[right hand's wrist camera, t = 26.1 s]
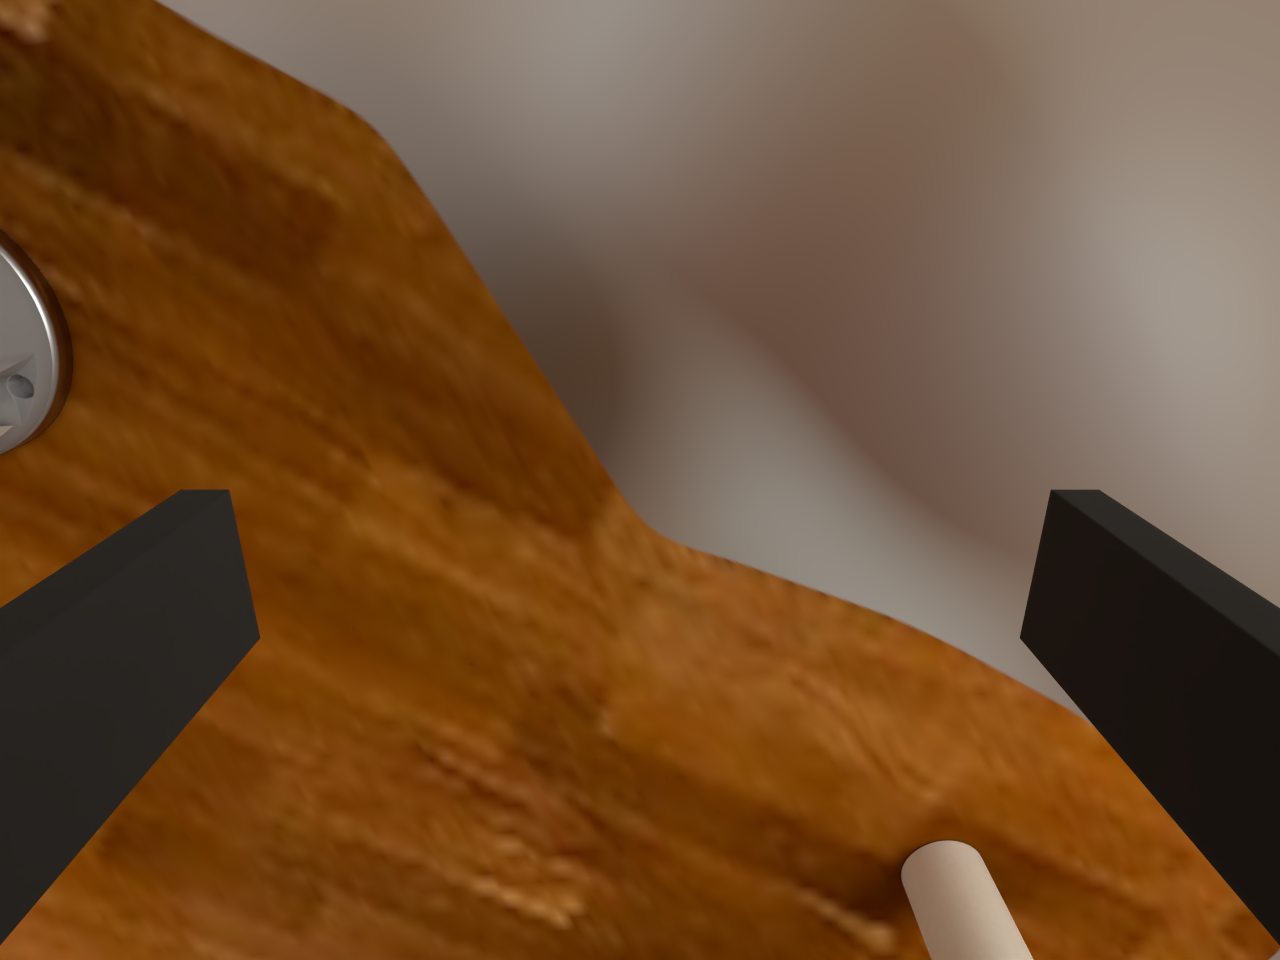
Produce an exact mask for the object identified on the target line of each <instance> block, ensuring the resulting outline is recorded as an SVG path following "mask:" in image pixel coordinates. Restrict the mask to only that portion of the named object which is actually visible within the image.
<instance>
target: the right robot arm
mask: <svg viewBox="0 0 1280 960" xmlns="http://www.w3.org/2000/svg"><path fill="white" fill-rule="evenodd" d="M72 372H73V355H72V345H71V339H70V334H69V330H68V327H67V323H66V320H65V317H64V314H63V312H62V309H61V307H60V305H59V303H58V300H57V298H56V296H55V294H54V293H53V291H52V289H51V287H50V286H49V284H48V282H47V281H46V279H45V278H44V276H43V275H42V273H41V272H40V270H39V269H38V268H37V266H36V265H35V264H34V263H33V261H32V260H31V259H30V258H29V257H28V255H27V254H26V253H25V252H24V251H23V250H22V249H21V248H20V247H19V246H18V245H17V244H16V243H15V242H14V241H13V240H12V239H11V238H10V237H9V236H8V235H6V234H5V233H4V232H3V231H1V230H0V454H2V453H4V452H6V451H9V450H11V449H14V448H16V447H18V446H21V445H23V444H25V443H27V442H29V441H31V440H32V439H34V438H36V437H37V436H38V435H40V434H41V433H42V432H43V431H45V430H46V429H47V428H48V427H49V426H50V424H51V423H52V422H53V421H54V420H55V418H56V417H57V416H58V414H59V413H60V411H61V409H62V407H63V405H64V403H65V401H66V398H67V396H68V392H69V389H70V385H71V379H72ZM259 639H260V635H259V630H258V625H257V620H256V616H255V611H254V606H253V601H252V596H251V592H250V587H249V582H248V577H247V573H246V568H245V563H244V558H243V554H242V549H241V544H240V539H239V535H238V530H237V525H236V520H235V516H234V511H233V506H232V501H231V497H230V492H229V490H180V491H178V492H177V493H175V494H174V495H172V496H171V497H169V498H168V499H166V500H165V501H163V502H162V503H160V504H159V505H157V506H156V507H154V508H153V509H151V510H149V511H148V512H146V513H145V514H143V515H142V516H140V517H139V518H137V519H136V520H134V521H133V522H131V523H130V524H128V525H127V526H125V527H124V528H122V529H120V530H119V531H117V532H116V533H114V534H113V535H111V536H110V537H108V538H107V539H105V540H104V541H102V542H101V543H99V544H98V545H96V546H95V547H93V548H91V549H90V550H88V551H87V552H85V553H84V554H82V555H81V556H79V557H78V558H76V559H75V560H73V561H72V562H70V563H69V564H67V565H66V566H64V567H62V568H61V569H59V570H58V571H56V572H55V573H53V574H52V575H50V576H49V577H47V578H46V579H44V580H43V581H41V582H40V583H38V584H37V585H35V586H34V587H32V588H30V589H29V590H27V591H26V592H24V593H23V594H21V595H20V596H18V597H17V598H15V599H14V600H12V601H11V602H9V603H8V604H6V605H5V606H3V607H1V608H0V945H1V944H2V943H3V941H4V940H5V939H6V938H7V937H8V935H9V934H10V933H11V932H12V931H13V930H14V928H15V927H16V926H17V925H18V924H19V922H20V921H21V920H22V919H23V918H24V917H25V915H26V914H27V913H28V912H29V911H30V909H31V908H32V907H33V906H34V905H35V904H36V902H37V901H38V900H39V899H40V898H41V896H42V895H43V894H44V893H45V892H46V891H47V889H48V888H49V887H50V886H51V885H52V883H53V882H54V881H55V880H56V879H57V878H58V876H59V875H60V874H61V873H62V872H63V870H64V869H65V868H66V867H67V866H68V865H69V863H70V862H71V861H72V860H73V859H74V857H75V856H76V855H77V854H78V853H79V852H80V850H81V849H82V848H83V847H84V846H85V844H86V843H87V842H88V841H89V840H90V839H91V837H92V836H93V835H94V834H95V833H96V831H97V830H98V829H99V828H100V827H101V826H102V824H103V823H104V822H105V821H106V820H107V818H108V817H109V816H110V815H111V814H112V813H113V811H114V810H115V809H116V808H117V807H118V805H119V804H120V803H121V802H122V801H123V800H124V798H125V797H126V796H127V795H128V794H129V792H130V791H131V790H132V789H133V788H134V787H135V785H136V784H137V783H138V782H139V781H140V779H141V778H142V777H143V776H144V775H145V774H146V772H147V771H148V770H149V769H150V768H151V766H152V765H153V764H154V763H155V762H156V761H157V759H158V758H159V757H160V756H161V755H162V753H163V752H164V751H165V750H166V749H167V748H168V746H169V745H170V744H171V743H172V742H173V740H174V739H175V738H176V737H177V736H178V735H179V733H180V732H181V731H182V730H183V729H184V727H185V726H186V725H187V724H188V723H189V722H190V720H191V719H192V718H193V717H194V716H195V714H196V713H197V712H198V711H199V710H200V709H201V707H202V706H203V705H204V704H205V703H206V701H207V700H208V699H209V698H210V697H211V695H212V694H213V693H214V692H215V691H216V690H217V688H218V687H219V686H220V685H221V684H222V682H223V681H224V680H225V679H226V678H227V677H228V675H229V674H230V673H231V672H232V671H233V669H234V668H235V667H236V666H237V665H238V664H239V662H240V661H241V660H242V659H243V658H244V656H245V655H246V654H247V653H248V652H249V651H250V649H251V648H252V647H253V646H254V645H255V643H256V642H257V641H258V640H259ZM1020 639H1021V640H1022V641H1023V642H1024V643H1025V645H1026V646H1027V647H1028V648H1029V649H1030V651H1031V652H1032V653H1033V654H1034V655H1035V656H1036V658H1037V659H1038V660H1039V661H1040V662H1041V664H1042V665H1043V666H1044V667H1045V668H1046V669H1047V671H1048V672H1049V673H1050V674H1051V675H1052V677H1053V678H1054V679H1055V680H1056V681H1057V682H1058V684H1059V685H1060V686H1061V687H1062V688H1063V690H1064V691H1065V692H1066V693H1067V694H1068V695H1069V697H1070V698H1071V699H1072V700H1073V701H1074V703H1075V704H1076V705H1077V706H1078V707H1079V709H1080V710H1081V711H1082V712H1083V713H1084V714H1085V716H1086V717H1087V718H1088V719H1089V720H1090V722H1091V723H1092V724H1093V725H1094V726H1095V727H1096V729H1097V730H1098V731H1099V732H1100V733H1101V735H1102V736H1103V737H1104V738H1105V739H1106V740H1107V742H1108V743H1109V744H1110V745H1111V746H1112V748H1113V749H1114V750H1115V751H1116V752H1117V753H1118V755H1119V756H1120V757H1121V758H1122V759H1123V761H1124V762H1125V763H1126V764H1127V765H1128V766H1129V768H1130V769H1131V770H1132V771H1133V772H1134V774H1135V775H1136V776H1137V777H1138V778H1139V779H1140V781H1141V782H1142V783H1143V784H1144V785H1145V787H1146V788H1147V789H1148V790H1149V791H1150V792H1151V794H1152V795H1153V796H1154V797H1155V798H1156V800H1157V801H1158V802H1159V803H1160V804H1161V805H1162V807H1163V808H1164V809H1165V810H1166V811H1167V813H1168V814H1169V815H1170V816H1171V817H1172V818H1173V820H1174V821H1175V822H1176V823H1177V824H1178V826H1179V827H1180V828H1181V829H1182V830H1183V831H1184V833H1185V834H1186V835H1187V836H1188V837H1189V839H1190V840H1191V841H1192V842H1193V843H1194V844H1195V846H1196V847H1197V848H1198V849H1199V850H1200V852H1201V853H1202V854H1203V855H1204V856H1205V857H1206V859H1207V860H1208V861H1209V862H1210V863H1211V865H1212V866H1213V867H1214V868H1215V869H1216V870H1217V872H1218V873H1219V874H1220V875H1221V876H1222V878H1223V879H1224V880H1225V881H1226V882H1227V883H1228V885H1229V886H1230V887H1231V888H1232V889H1233V891H1234V892H1235V893H1236V894H1237V895H1238V896H1239V898H1240V899H1241V900H1242V901H1243V902H1244V904H1245V905H1246V906H1247V907H1248V908H1249V909H1250V911H1251V912H1252V913H1253V914H1254V915H1255V917H1256V918H1257V919H1258V920H1259V921H1260V922H1261V924H1262V925H1263V926H1264V927H1265V928H1266V930H1267V931H1268V932H1269V933H1270V934H1271V935H1272V937H1273V938H1274V939H1275V940H1276V941H1277V943H1278V944H1279V945H1280V608H1279V607H1277V606H1275V605H1274V604H1272V603H1271V602H1269V601H1268V600H1266V599H1265V598H1263V597H1262V596H1260V595H1259V594H1257V593H1256V592H1254V591H1253V590H1251V589H1250V588H1248V587H1246V586H1245V585H1243V584H1242V583H1240V582H1239V581H1237V580H1236V579H1234V578H1233V577H1231V576H1230V575H1228V574H1227V573H1225V572H1224V571H1222V570H1221V569H1219V568H1217V567H1216V566H1214V565H1213V564H1211V563H1210V562H1208V561H1207V560H1205V559H1204V558H1202V557H1201V556H1199V555H1198V554H1196V553H1195V552H1193V551H1192V550H1190V549H1189V548H1187V547H1185V546H1184V545H1182V544H1181V543H1179V542H1178V541H1176V540H1175V539H1173V538H1172V537H1170V536H1169V535H1167V534H1166V533H1164V532H1163V531H1161V530H1160V529H1158V528H1156V527H1155V526H1153V525H1152V524H1150V523H1149V522H1147V521H1146V520H1144V519H1143V518H1141V517H1140V516H1138V515H1137V514H1135V513H1134V512H1132V511H1131V510H1129V509H1127V508H1126V507H1124V506H1123V505H1121V504H1120V503H1118V502H1117V501H1115V500H1114V499H1112V498H1111V497H1109V496H1108V495H1106V494H1105V493H1103V492H1102V491H1100V490H1051V492H1050V497H1049V501H1048V506H1047V511H1046V516H1045V520H1044V525H1043V530H1042V535H1041V539H1040V544H1039V549H1038V554H1037V558H1036V563H1035V568H1034V573H1033V577H1032V582H1031V587H1030V592H1029V597H1028V601H1027V606H1026V611H1025V616H1024V620H1023V625H1022V630H1021V635H1020Z"/></svg>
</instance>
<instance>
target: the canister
mask: <svg viewBox="0 0 1280 960" xmlns="http://www.w3.org/2000/svg"><path fill="white" fill-rule="evenodd" d="M901 879H902V883H903V886H904V888H905V891H906V894H907V896H908V899H909V901H910V904H911V907H912V909H913V912H914V915H915V917H916V920H917V923H918V925H919V928H920V931H921V933H922V936H923V938H924V941H925V944H926V946H927V949H928V952H929V954H930V957H931V960H1033V958H1032V956H1031V954H1030V952H1029V950H1028V948H1027V946H1026V944H1025V942H1024V940H1023V938H1022V936H1021V934H1020V932H1019V930H1018V928H1017V926H1016V924H1015V922H1014V920H1013V919H1012V917H1011V915H1010V913H1009V911H1008V909H1007V907H1006V905H1005V903H1004V901H1003V899H1002V897H1001V895H1000V893H999V891H998V889H997V887H996V885H995V883H994V881H993V879H992V877H991V875H990V873H989V872H988V870H987V868H986V866H985V864H984V862H983V860H982V858H981V856H980V855H979V853H978V852H977V851H976V850H975V849H974V848H972V847H971V846H969V845H967V844H965V843H962V842H958V841H949V840H946V841H937V842H933V843H930V844H927V845H925V846H922V847H921V848H919V849H917V850H916V851H915V852H913V853H912V854H911V855H910V856H909V857H908V859H907V860H906V861H905V863H904V865H903V868H902V872H901Z"/></svg>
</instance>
